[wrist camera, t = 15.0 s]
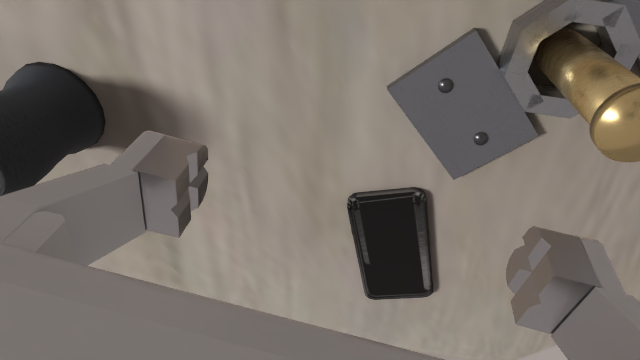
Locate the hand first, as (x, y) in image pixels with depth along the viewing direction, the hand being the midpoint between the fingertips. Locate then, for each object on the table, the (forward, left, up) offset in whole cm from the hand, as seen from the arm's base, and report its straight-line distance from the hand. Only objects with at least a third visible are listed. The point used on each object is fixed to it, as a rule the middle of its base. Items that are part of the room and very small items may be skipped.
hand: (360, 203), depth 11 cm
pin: (-9, +12, -27) cm, 31 cm away
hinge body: (-9, +12, -27) cm, 31 cm away
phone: (+13, +22, -27) cm, 37 cm away
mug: (+31, -11, -27) cm, 42 cm away
